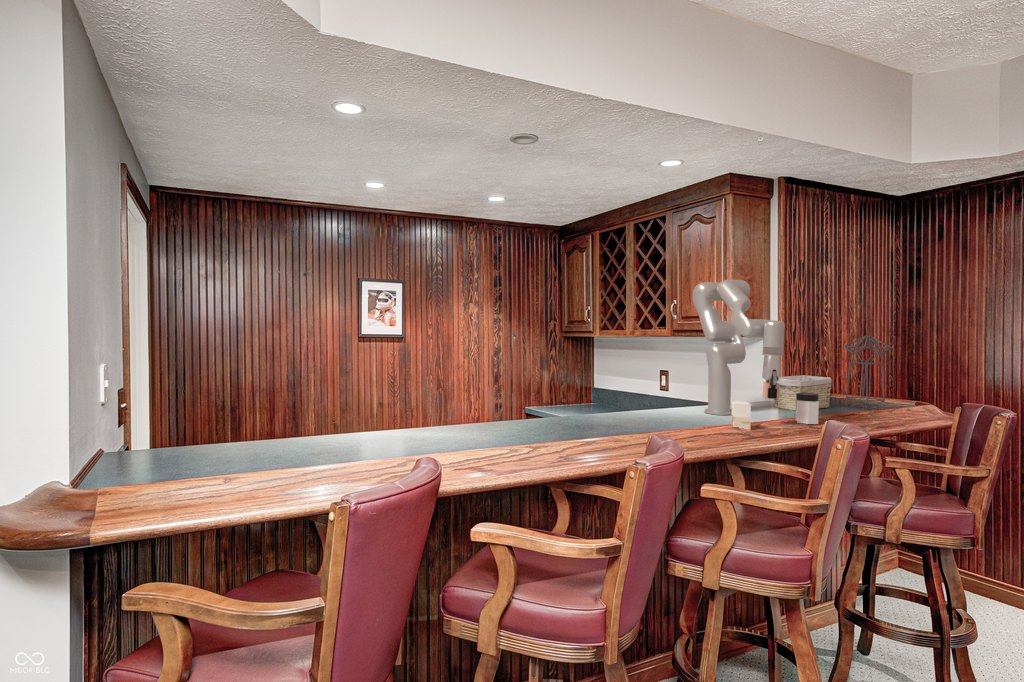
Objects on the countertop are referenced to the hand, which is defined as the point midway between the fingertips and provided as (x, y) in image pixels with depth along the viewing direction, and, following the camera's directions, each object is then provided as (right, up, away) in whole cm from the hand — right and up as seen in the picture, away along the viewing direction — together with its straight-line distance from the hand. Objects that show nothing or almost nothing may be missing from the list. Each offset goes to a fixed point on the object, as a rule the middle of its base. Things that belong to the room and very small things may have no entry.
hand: (770, 396), depth 230 cm
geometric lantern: (+66, -10, +45) cm, 80 cm away
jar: (+17, -12, +5) cm, 21 cm away
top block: (0, -1, 0) cm, 1 cm away
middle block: (-15, -7, -7) cm, 18 cm away
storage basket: (+35, -10, +46) cm, 59 cm away
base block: (-15, -12, -7) cm, 20 cm away
